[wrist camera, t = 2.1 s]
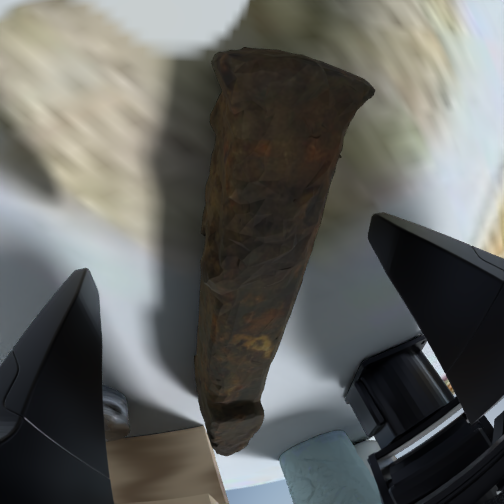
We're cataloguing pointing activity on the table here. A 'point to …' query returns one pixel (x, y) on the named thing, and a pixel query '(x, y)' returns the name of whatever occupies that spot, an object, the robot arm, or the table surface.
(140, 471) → the beige wooden box
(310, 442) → the grey green cup
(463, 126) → the table surface
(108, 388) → the steel token
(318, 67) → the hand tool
